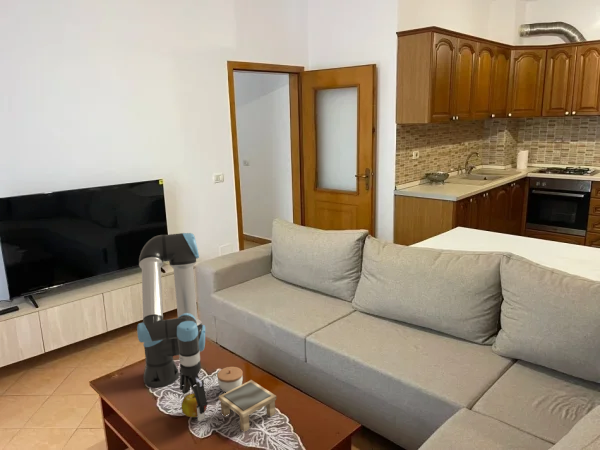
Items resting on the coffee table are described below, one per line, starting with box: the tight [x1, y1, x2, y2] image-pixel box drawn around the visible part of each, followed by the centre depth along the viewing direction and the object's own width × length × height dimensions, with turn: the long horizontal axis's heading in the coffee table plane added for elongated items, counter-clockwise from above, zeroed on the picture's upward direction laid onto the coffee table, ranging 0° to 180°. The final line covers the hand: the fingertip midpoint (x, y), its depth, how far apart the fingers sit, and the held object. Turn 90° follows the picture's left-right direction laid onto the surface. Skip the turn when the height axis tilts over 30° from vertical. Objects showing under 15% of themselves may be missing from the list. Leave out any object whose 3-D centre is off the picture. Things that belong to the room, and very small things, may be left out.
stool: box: [218, 379, 277, 433], centre depth 179 cm, size 16×16×8 cm
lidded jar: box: [216, 366, 244, 393], centre depth 196 cm, size 11×11×9 cm
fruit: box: [181, 392, 208, 418], centre depth 178 cm, size 10×9×8 cm
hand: (194, 413), depth 179 cm, fingers closed on fruit, 9 cm apart
